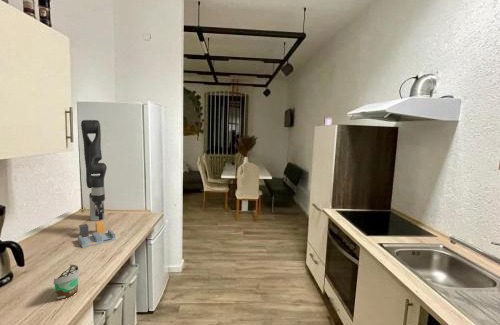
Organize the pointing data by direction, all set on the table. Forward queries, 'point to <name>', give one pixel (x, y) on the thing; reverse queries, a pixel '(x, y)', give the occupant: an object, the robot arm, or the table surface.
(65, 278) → the food container
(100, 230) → the orange plug
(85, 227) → the black plug
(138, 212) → the table surface
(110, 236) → the comb board
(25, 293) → the table surface
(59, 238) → the table surface
